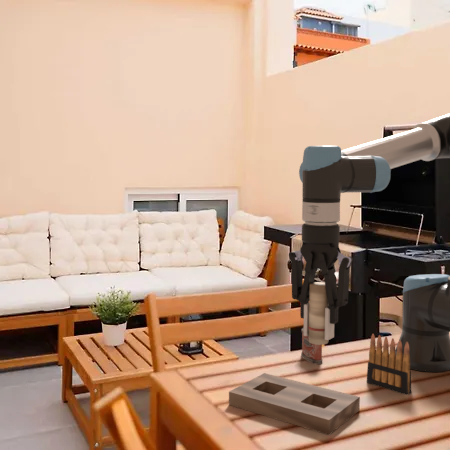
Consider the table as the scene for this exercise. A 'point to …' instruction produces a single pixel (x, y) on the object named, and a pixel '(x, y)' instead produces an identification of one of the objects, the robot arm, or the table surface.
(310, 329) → the birch dowel
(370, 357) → the ammunition clip
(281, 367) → the table surface
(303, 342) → the lighter
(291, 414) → the walnut board
